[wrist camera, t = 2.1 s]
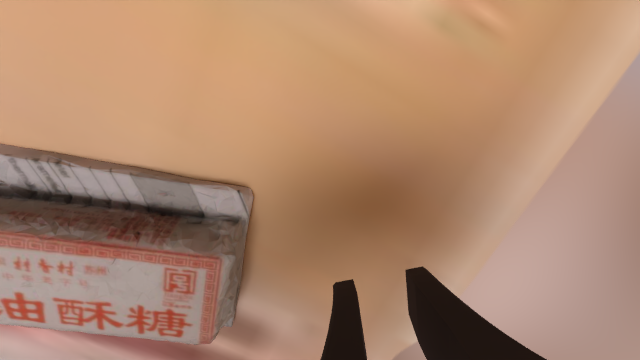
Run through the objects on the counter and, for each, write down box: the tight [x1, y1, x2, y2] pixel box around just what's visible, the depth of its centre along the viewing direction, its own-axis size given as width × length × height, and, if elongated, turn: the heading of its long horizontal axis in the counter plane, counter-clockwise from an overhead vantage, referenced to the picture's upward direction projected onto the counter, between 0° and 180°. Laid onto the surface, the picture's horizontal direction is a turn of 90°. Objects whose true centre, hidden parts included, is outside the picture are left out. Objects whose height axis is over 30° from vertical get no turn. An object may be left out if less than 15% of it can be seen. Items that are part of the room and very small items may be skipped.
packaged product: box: [0, 144, 253, 345], centre depth 18 cm, size 18×5×10 cm
